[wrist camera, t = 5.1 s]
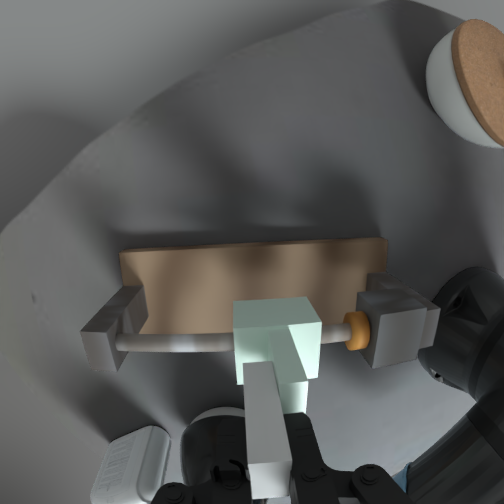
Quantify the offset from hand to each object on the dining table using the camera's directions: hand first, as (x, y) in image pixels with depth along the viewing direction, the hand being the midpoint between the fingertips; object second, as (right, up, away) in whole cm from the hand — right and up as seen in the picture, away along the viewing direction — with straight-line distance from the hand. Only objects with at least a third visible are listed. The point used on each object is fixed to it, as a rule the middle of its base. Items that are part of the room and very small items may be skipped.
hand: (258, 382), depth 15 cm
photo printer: (-15, -18, +17) cm, 29 cm away
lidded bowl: (+21, +24, +10) cm, 33 cm away
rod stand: (0, +3, +13) cm, 13 cm away
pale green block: (+1, +2, +6) cm, 6 cm away
